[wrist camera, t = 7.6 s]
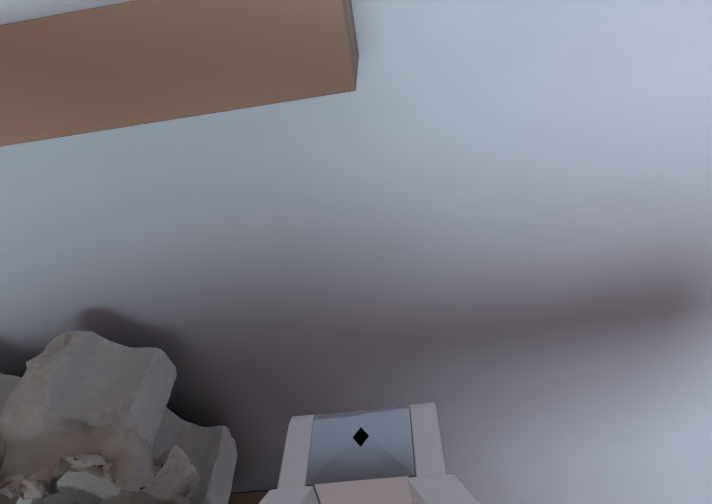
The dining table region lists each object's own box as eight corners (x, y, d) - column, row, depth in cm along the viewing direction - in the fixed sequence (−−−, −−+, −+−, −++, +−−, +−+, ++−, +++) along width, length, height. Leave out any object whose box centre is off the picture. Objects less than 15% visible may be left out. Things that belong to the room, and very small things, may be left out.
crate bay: (423, 505, 16) (434, 606, 14) (-107, 545, 18) (-184, 640, 16) (345, -37, 8) (336, -36, 6) (-584, 132, 10) (-900, 189, 8)
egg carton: (149, 301, 11) (66, 473, 8) (271, 473, 15) (251, 632, 12) (-225, 391, 13) (-430, 567, 9) (-19, 525, 17) (-108, 679, 13)
